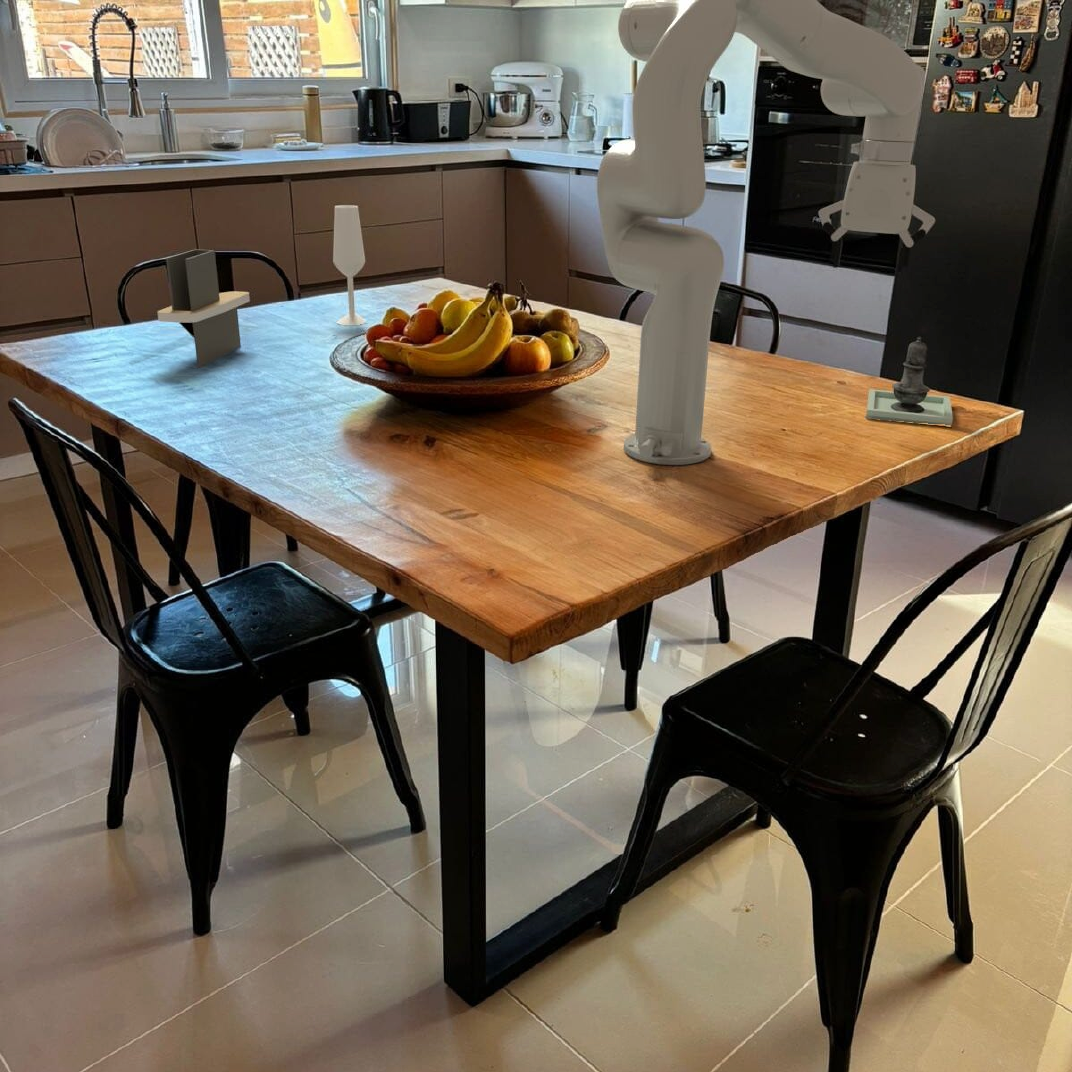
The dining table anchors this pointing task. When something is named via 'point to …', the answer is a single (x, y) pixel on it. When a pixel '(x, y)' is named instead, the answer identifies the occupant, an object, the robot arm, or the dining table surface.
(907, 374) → the salt shaker
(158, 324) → the dining table surface
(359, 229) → the champagne flute
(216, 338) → the architectural model
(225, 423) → the dining table surface
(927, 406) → the tray
